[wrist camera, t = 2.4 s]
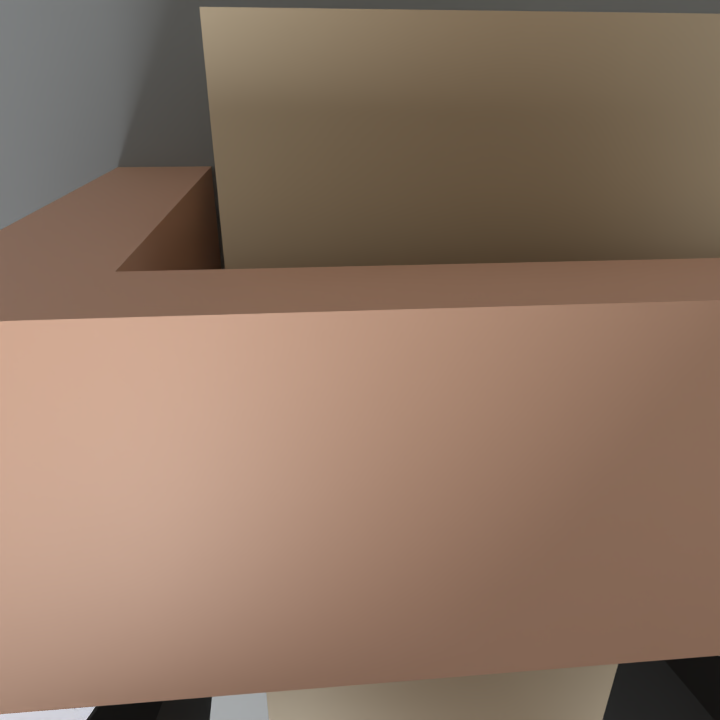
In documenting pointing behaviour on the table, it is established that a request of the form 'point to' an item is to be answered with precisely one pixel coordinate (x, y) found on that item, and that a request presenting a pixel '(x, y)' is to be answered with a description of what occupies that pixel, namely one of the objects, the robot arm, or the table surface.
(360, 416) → the tunnel
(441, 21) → the block
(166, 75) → the deck
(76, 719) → the table surface
